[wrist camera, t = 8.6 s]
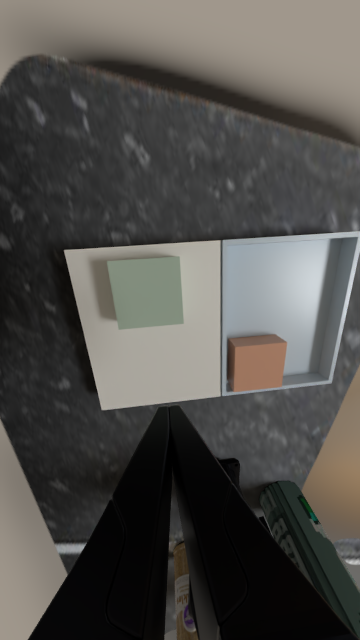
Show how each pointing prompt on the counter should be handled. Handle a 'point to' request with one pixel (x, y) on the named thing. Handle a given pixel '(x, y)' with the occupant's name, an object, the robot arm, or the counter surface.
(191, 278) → the board
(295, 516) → the can
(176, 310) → the tile sage
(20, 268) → the counter surface
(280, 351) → the tile terracotta
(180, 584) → the sprinkles bottle
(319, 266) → the box
